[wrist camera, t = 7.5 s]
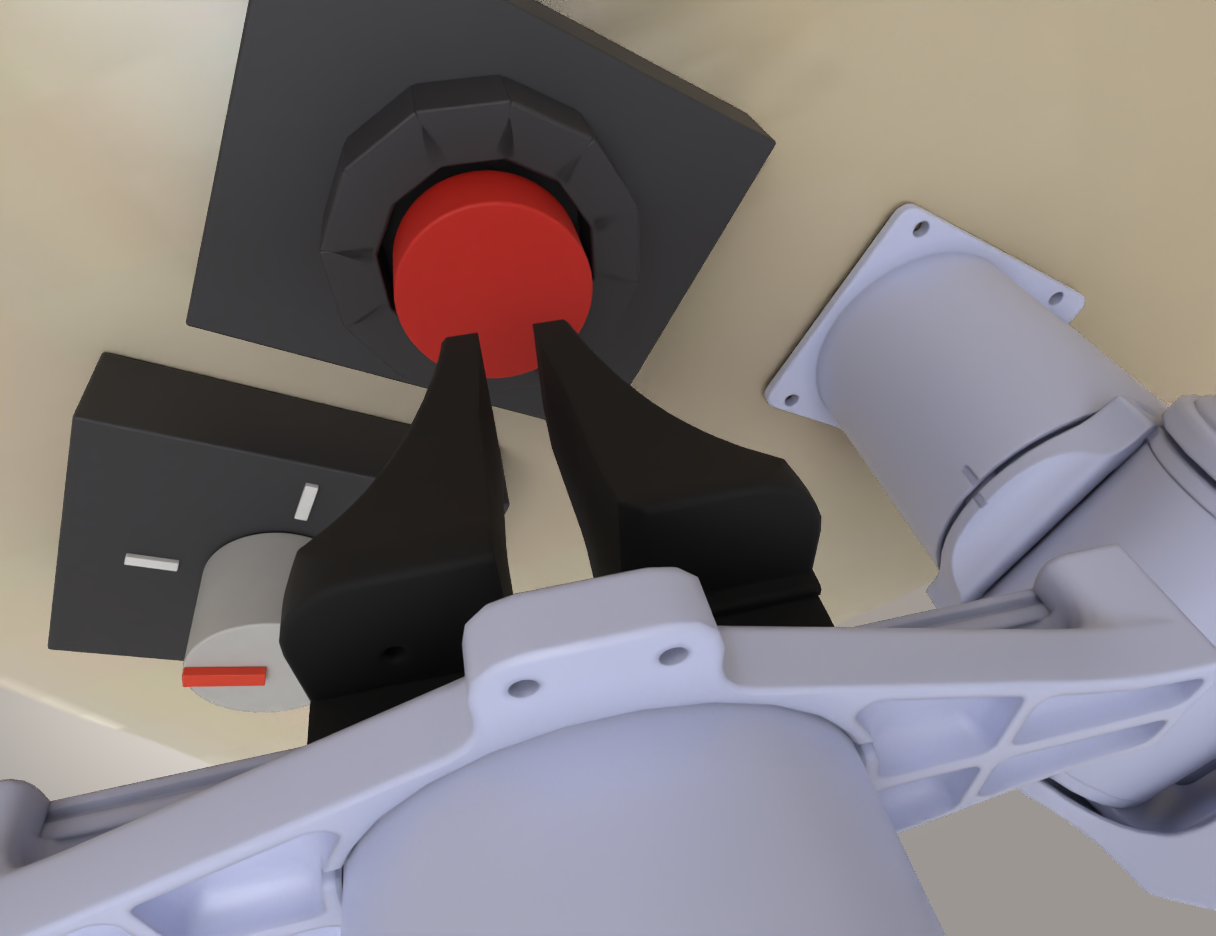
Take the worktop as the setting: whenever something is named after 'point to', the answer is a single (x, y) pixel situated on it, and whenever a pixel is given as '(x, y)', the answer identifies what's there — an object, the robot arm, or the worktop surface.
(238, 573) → the timer dial
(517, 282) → the power button
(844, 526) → the worktop surface
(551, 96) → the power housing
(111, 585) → the timer panel
